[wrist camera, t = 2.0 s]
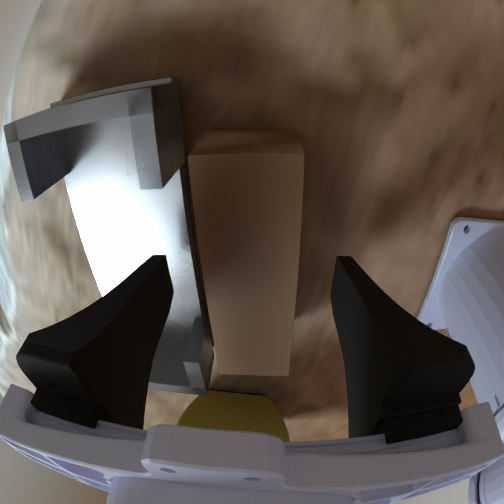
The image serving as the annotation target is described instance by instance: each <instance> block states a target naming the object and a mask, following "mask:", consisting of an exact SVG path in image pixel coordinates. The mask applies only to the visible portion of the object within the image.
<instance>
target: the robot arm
mask: <svg viewBox="0 0 504 504" xmlns="http://www.w3.org/2000/svg"><path fill="white" fill-rule="evenodd" d="M467 225H468V226H467ZM466 226H467V228H466V229H465V230H464V228H465V227H466ZM173 294H174V289H173V285H172V280H171V276H170V271H169V267H168V262H167V257H166V255H152V256H151V257H150V258H148V259H147V260H146V261H145V262H144V263H142V264H141V265H140V266H139V267H138V268H137V269H136V270H134V271H133V272H132V273H131V274H130V275H129V276H128V277H126V278H125V279H124V280H123V281H122V282H120V283H119V284H118V285H117V286H116V287H114V288H113V289H112V290H111V291H109V292H108V293H107V294H105V295H104V296H103V297H101V298H100V299H99V300H97V301H96V302H94V303H93V304H91V305H90V306H88V307H86V308H85V309H83V310H81V311H79V312H78V313H76V314H74V315H72V316H71V317H69V318H67V319H65V320H62V321H60V322H58V323H56V324H54V325H51V326H49V327H46V328H44V329H41V330H38V331H35V332H33V333H29V335H28V336H27V338H26V340H25V341H24V343H23V345H22V347H21V348H20V350H19V352H18V353H17V355H16V360H17V363H18V365H19V367H20V368H21V370H22V371H23V372H24V374H25V375H26V376H27V377H28V379H29V380H30V381H31V382H32V383H33V385H34V386H35V387H36V388H37V389H36V391H35V394H33V393H32V392H30V391H29V390H27V389H24V388H21V387H19V386H16V385H14V384H11V385H10V387H9V389H8V391H7V393H6V395H5V397H4V399H3V401H2V403H1V405H0V438H1V439H3V440H4V441H5V442H6V443H8V444H9V445H10V446H12V447H13V448H14V449H16V450H17V451H18V452H20V453H21V454H23V455H24V456H26V457H28V458H30V459H32V460H34V461H36V462H38V463H40V464H42V465H44V466H47V467H49V468H51V469H53V470H55V471H57V472H59V473H62V474H64V475H66V476H69V477H71V478H73V479H76V480H78V481H80V482H83V483H85V484H88V485H91V486H93V487H96V488H99V489H101V490H104V491H107V492H109V493H108V498H107V502H106V504H391V503H395V502H398V501H402V500H406V499H409V498H412V497H416V496H419V495H422V494H425V493H428V492H431V491H434V490H437V489H440V488H443V487H446V486H449V485H451V484H454V483H457V482H460V481H462V480H465V479H468V478H470V481H469V488H468V500H469V504H504V221H500V220H489V219H478V218H465V217H457V218H455V219H454V220H453V221H452V223H451V225H450V228H449V231H448V235H447V238H446V241H445V244H444V247H443V251H442V254H441V257H440V260H439V262H438V265H437V268H436V271H435V274H434V277H433V279H432V282H431V285H430V287H429V290H428V292H427V295H426V297H425V300H424V302H423V305H422V307H421V310H420V312H419V314H418V317H417V319H416V318H415V317H413V316H412V315H411V314H409V313H408V312H407V311H405V310H404V309H403V308H402V307H400V306H399V305H398V304H397V303H396V302H394V301H393V300H392V299H391V298H390V297H389V296H388V295H387V294H386V293H385V292H384V291H383V290H382V289H381V288H380V287H379V286H378V285H377V284H376V283H375V282H374V281H373V280H372V279H371V278H370V277H369V276H368V275H367V274H366V273H365V271H364V270H363V269H362V268H361V267H360V266H359V265H358V264H357V263H356V261H355V260H354V259H353V258H352V257H351V256H337V258H336V264H335V271H334V277H333V283H332V289H331V301H332V310H333V316H334V320H335V324H336V328H337V332H338V337H339V341H340V345H341V349H342V353H343V358H344V364H345V373H346V383H347V396H348V419H349V438H346V439H335V440H321V441H300V442H283V441H282V440H281V439H280V438H279V437H276V436H273V435H270V434H268V433H260V432H252V431H232V430H217V429H206V428H195V427H187V426H178V425H165V424H159V425H156V426H153V427H151V428H149V429H148V430H143V424H144V413H145V404H146V397H147V390H148V384H149V378H150V373H151V368H152V364H153V359H154V356H155V352H156V349H157V346H158V343H159V341H160V338H161V335H162V332H163V329H164V327H165V324H166V321H167V318H168V315H169V312H170V308H171V304H172V299H173ZM446 328H447V330H448V332H449V334H450V336H451V338H452V339H451V338H448V337H446V336H444V335H442V334H441V333H439V332H437V331H435V330H436V329H446ZM469 381H470V383H471V386H472V388H473V391H474V394H475V396H476V399H477V402H478V404H477V405H474V406H470V407H468V408H465V409H463V410H462V411H461V412H460V409H459V406H458V405H459V404H460V403H461V398H460V395H459V393H460V392H461V391H462V389H463V388H464V387H465V386H466V384H467V383H468V382H469Z"/></svg>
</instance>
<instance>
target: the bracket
mask: <svg viewBox="0 0 504 504" xmlns="http://www.w3.org/2000/svg"><path fill="white" fill-rule="evenodd" d="M50 105H51V108H49V109H46V110H43V111H40V112H37V113H35V114H32V115H29V116H27V117H24V118H21V119H19V120H16V121H14V122H12V123H9V124H7V125H4V132H5V137H6V142H7V147H8V152H9V156H10V160H11V164H12V169H13V172H14V176H15V180H16V184H17V187H18V191H19V194H20V198H21V201H27V200H34V199H35V198H36V197H38V196H39V195H40V194H42V193H43V192H44V191H46V190H47V189H48V188H50V187H51V186H52V185H54V184H55V183H56V182H58V181H59V180H60V179H62V178H63V177H64V179H65V183H66V187H67V191H68V195H69V198H70V202H71V206H72V209H73V213H74V216H75V220H76V223H77V226H78V230H79V233H80V236H81V239H82V242H83V245H84V248H85V251H86V254H87V257H88V260H89V263H90V266H91V268H92V271H93V274H94V276H95V279H96V282H97V284H98V287H99V289H100V292H101V295H102V297H103V296H104V295H105V294H107V293H108V292H109V291H111V290H112V289H113V288H114V287H116V286H117V285H118V284H119V283H120V282H122V281H123V280H124V279H125V278H126V277H128V276H129V275H130V274H131V273H132V272H133V271H134V270H136V269H137V268H138V267H139V266H140V265H141V264H142V263H144V262H145V261H146V260H147V259H148V258H150V257H151V256H152V255H166V257H167V262H168V267H169V271H170V276H171V280H172V285H173V289H174V294H173V299H172V304H171V308H170V312H169V315H168V318H167V321H166V324H165V327H164V329H163V332H162V335H161V338H160V341H159V343H158V346H157V349H156V352H155V356H154V359H153V364H152V368H151V373H150V378H149V384H148V389H154V390H161V391H169V392H177V393H186V394H196V395H208V389H209V383H210V378H211V372H212V366H213V360H214V352H213V347H212V341H211V336H210V330H209V325H208V320H206V314H205V308H204V302H203V296H202V290H201V284H200V278H199V272H198V265H197V258H196V252H195V245H194V238H193V231H192V223H191V216H190V208H189V200H188V192H187V184H186V175H185V166H184V162H185V151H184V141H183V130H182V119H181V107H180V94H179V82H177V77H171V78H164V79H157V80H150V81H144V82H138V83H133V84H127V85H122V86H117V87H113V88H108V89H103V90H99V91H95V92H91V93H87V94H83V95H79V96H75V97H72V98H68V99H65V100H61V101H58V102H55V103H51V104H50Z"/></svg>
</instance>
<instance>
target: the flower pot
mask: <svg viewBox="0 0 504 504" xmlns="http://www.w3.org/2000/svg"><path fill="white" fill-rule="evenodd" d="M177 425H178V426H187V427H195V428H206V429H217V430H232V431H252V432H260V433H268V434H270V435H273V436H276V437H279V438H280V439H281V440H282V441H283V442H290V440H289V435H288V431H287V428H286V425H285V423H284V420H283V418H282V416H281V414H280V413H279V411H278V409H277V408H276V406H275V405H274V404H273V403H272V401H271V400H270V399H269V398H268V397H266V396H261V395H249V394H239V393H230V392H222V391H214V390H208V395H199V396H198V397H197V398H196V399H195V400H194V401H193V402H192V403H191V404H190V405H189V406H188V407H187V408H186V410H185V411H184V413H183V414H182V416H181V417H180V419H179V421H178V423H177Z"/></svg>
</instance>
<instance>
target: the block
mask: <svg viewBox="0 0 504 504" xmlns="http://www.w3.org/2000/svg"><path fill="white" fill-rule="evenodd" d="M304 158H305V154H304V151H303V148H302V146H301V143H300V140H299V138H298V135H297V132H296V130H293V129H244V130H216V131H209V132H208V134H207V135H206V136H205V137H204V138H203V139H202V140H201V141H200V142H199V143H198V144H197V146H196V147H195V148H194V149H193V150H192V151H191V152H190V153H189V155H188V165H189V174H190V183H191V192H192V200H193V208H194V216H195V224H196V231H197V239H198V246H199V253H200V260H201V267H202V274H203V280H204V287H205V293H206V299H207V305H208V311H209V317H210V323H211V329H212V335H213V340H214V346H215V351H216V357H217V362H218V367H219V373H220V374H232V375H258V376H288V374H289V365H290V356H291V347H292V337H293V327H294V316H295V305H296V293H297V281H298V268H299V254H300V239H301V223H302V205H303V184H304Z"/></svg>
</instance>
